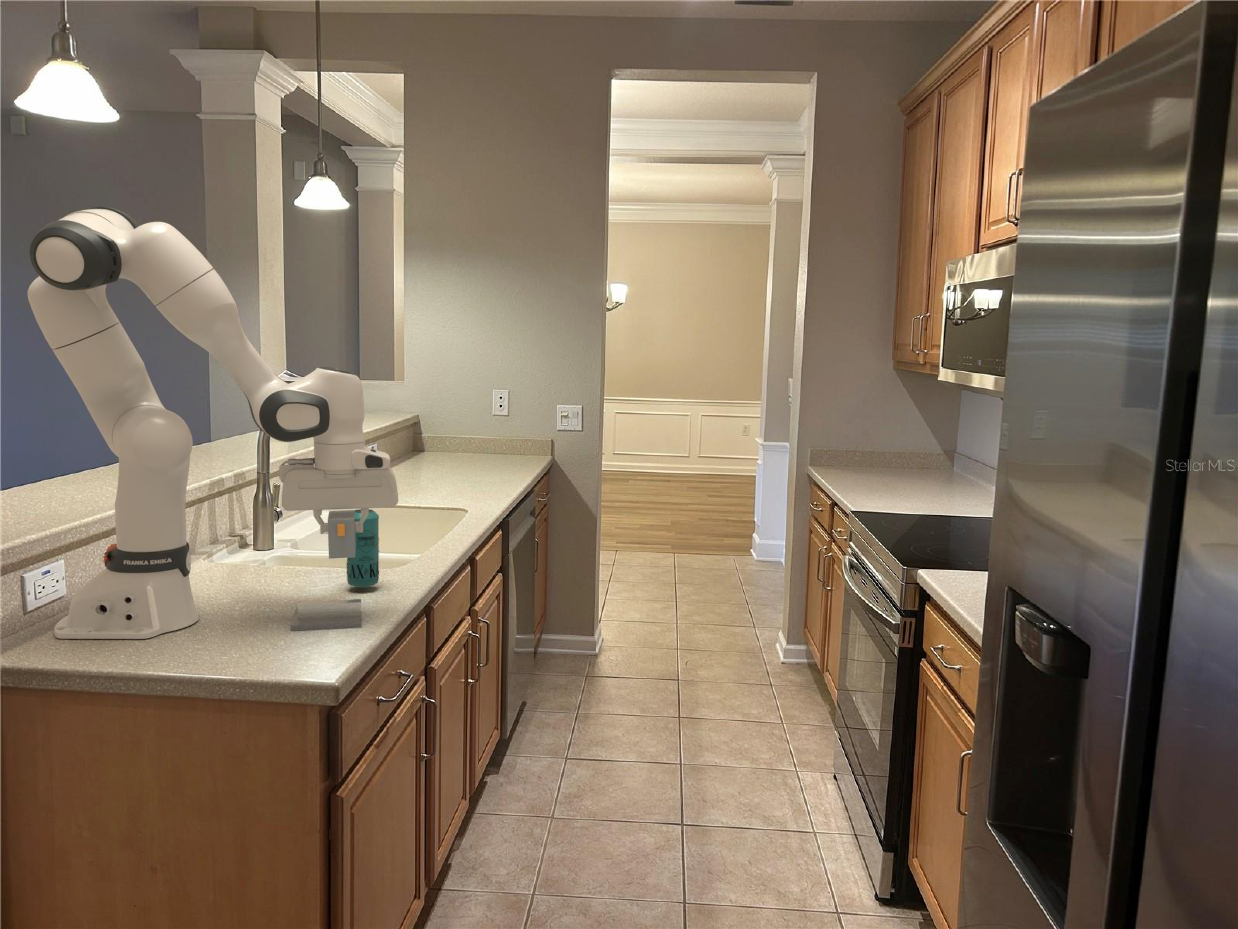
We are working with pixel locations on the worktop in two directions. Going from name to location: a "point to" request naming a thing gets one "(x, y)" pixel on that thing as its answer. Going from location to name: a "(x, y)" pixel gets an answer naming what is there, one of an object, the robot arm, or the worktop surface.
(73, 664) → the worktop surface
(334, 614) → the grey ledge plate
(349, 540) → the module
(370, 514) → the beverage bottle
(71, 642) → the worktop surface
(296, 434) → the robot arm
